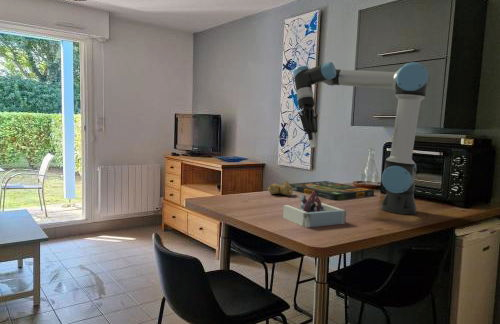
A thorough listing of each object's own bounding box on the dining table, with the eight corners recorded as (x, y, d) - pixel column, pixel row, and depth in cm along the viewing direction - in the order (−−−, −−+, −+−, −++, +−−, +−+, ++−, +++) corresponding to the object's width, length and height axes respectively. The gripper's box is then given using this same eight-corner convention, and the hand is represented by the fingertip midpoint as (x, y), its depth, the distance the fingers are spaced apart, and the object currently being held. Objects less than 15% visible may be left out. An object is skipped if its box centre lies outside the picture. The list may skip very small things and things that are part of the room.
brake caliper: (318, 218, 142) (304, 190, 146) (298, 230, 148) (286, 203, 153) (334, 214, 150) (321, 187, 154) (315, 225, 157) (302, 200, 161)
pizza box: (325, 186, 241) (326, 181, 241) (373, 196, 214) (374, 190, 214) (286, 190, 219) (286, 184, 219) (334, 201, 192) (334, 194, 192)
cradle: (283, 217, 150) (283, 205, 149) (320, 214, 159) (321, 202, 158) (305, 227, 136) (306, 213, 136) (345, 223, 145) (346, 210, 145)
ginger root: (288, 196, 189) (286, 180, 190) (262, 199, 198) (259, 184, 199) (301, 193, 203) (299, 178, 203) (276, 196, 211) (274, 182, 212)
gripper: (307, 103, 184) (314, 150, 180) (290, 99, 175) (298, 147, 170) (320, 98, 179) (328, 146, 175) (304, 93, 170) (312, 143, 165)
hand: (313, 147), depth 172 cm, fingers closed
